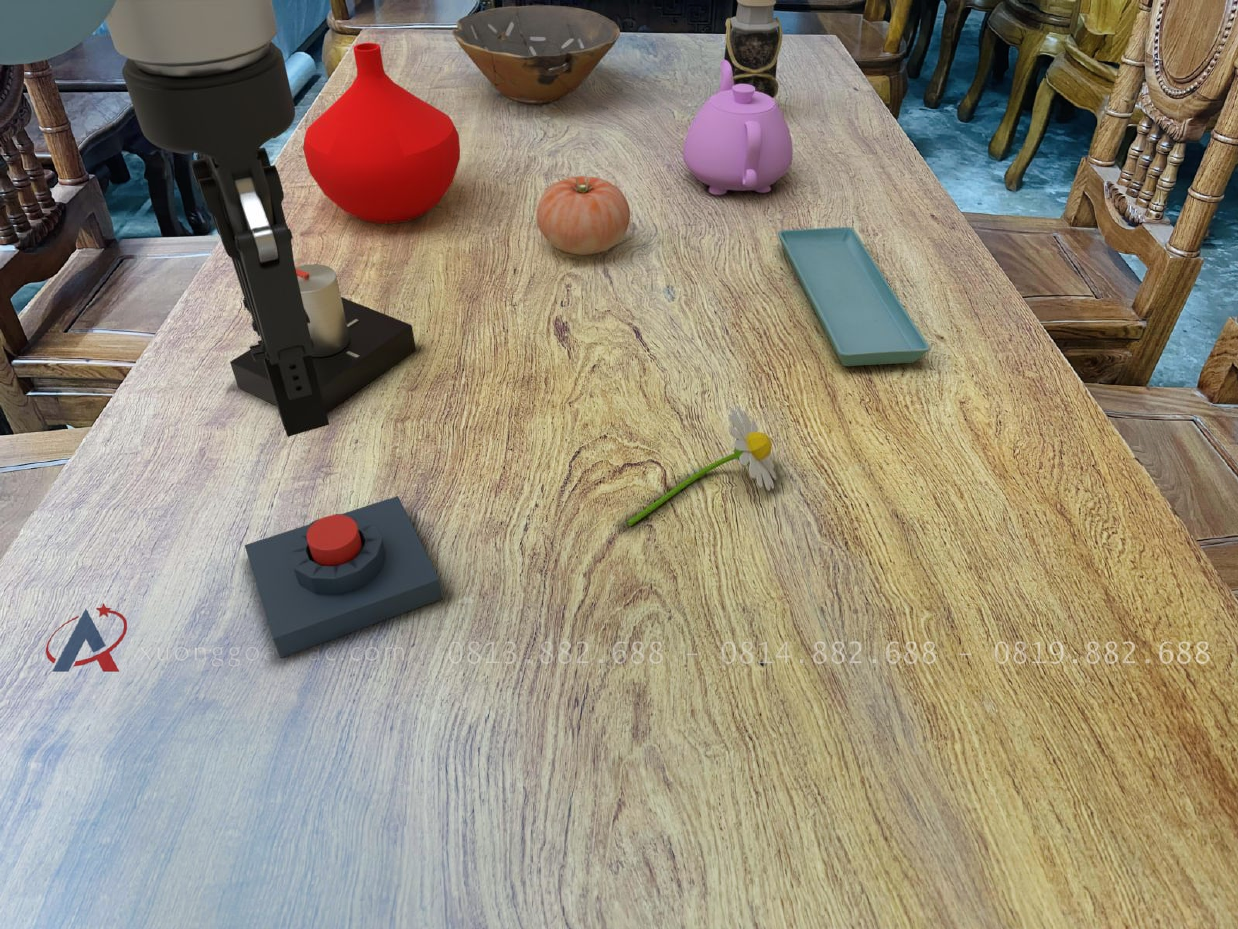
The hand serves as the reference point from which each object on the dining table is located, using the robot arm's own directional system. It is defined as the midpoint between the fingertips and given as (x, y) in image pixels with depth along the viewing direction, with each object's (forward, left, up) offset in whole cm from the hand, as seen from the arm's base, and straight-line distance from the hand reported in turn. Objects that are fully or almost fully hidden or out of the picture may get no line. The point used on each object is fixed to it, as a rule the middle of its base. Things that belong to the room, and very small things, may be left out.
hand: (305, 424), depth 62 cm
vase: (+22, +59, -15) cm, 65 cm away
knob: (+6, +28, -12) cm, 31 cm away
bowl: (+54, +86, -15) cm, 103 cm away
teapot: (+65, +47, -15) cm, 81 cm away
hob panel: (+6, +28, -15) cm, 32 cm away
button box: (0, 0, -15) cm, 15 cm away
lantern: (+78, +64, -15) cm, 102 cm away
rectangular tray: (+58, +15, -15) cm, 62 cm away
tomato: (+39, +39, -15) cm, 57 cm away
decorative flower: (+30, -5, -15) cm, 34 cm away
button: (0, 0, -12) cm, 12 cm away
